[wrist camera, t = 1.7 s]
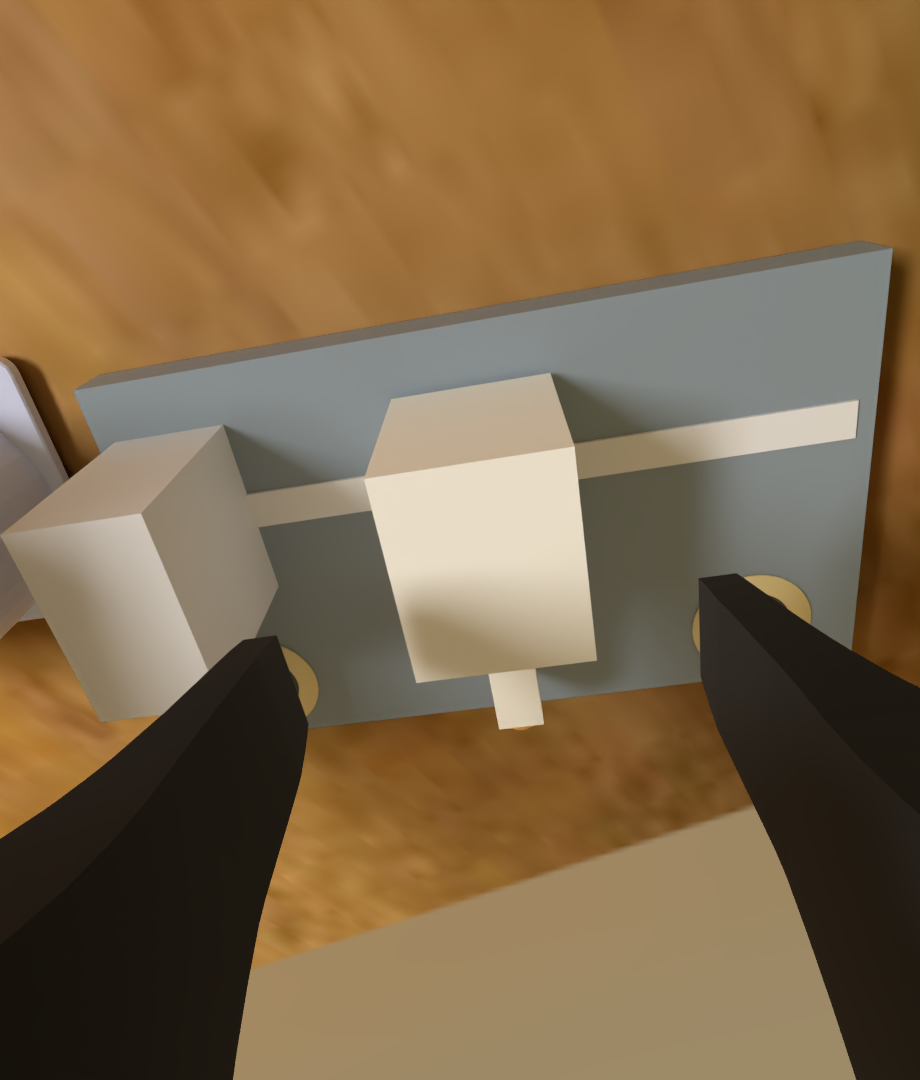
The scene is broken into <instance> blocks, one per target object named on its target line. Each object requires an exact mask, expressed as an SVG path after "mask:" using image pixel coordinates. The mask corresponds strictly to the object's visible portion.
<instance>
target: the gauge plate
mask: <svg viewBox="0 0 920 1080" xmlns="http://www.w3.org/2000/svg"><path fill="white" fill-rule="evenodd" d="M892 253H893V248H890V247H886V246H882V245H877V244H873V243H869V242H865V241H858V242H853V243H847V244H841V245H836V246H830V247H824V248H818V249H813V250H807V251H801V252H796V253H790V254H784V255H779V256H773V257H767V258H762V259H756V260H750V261H744V262H739V263H733V264H727V265H722V266H716V267H710V268H705V269H699V270H693V271H687V272H682V273H676V274H670V275H665V276H659V277H653V278H648V279H642V280H636V281H631V282H625V283H619V284H613V285H608V286H602V287H596V288H591V289H585V290H579V291H574V292H568V293H562V294H556V295H551V296H545V297H539V298H534V299H528V300H522V301H517V302H511V303H505V304H500V305H494V306H488V307H482V308H477V309H471V310H465V311H460V312H454V313H448V314H443V315H437V316H431V317H425V318H420V319H414V320H408V321H403V322H397V323H391V324H386V325H380V326H374V327H369V328H363V329H357V330H351V331H346V332H340V333H334V334H329V335H323V336H317V337H312V338H306V339H300V340H294V341H289V342H283V343H277V344H272V345H266V346H260V347H255V348H249V349H243V350H238V351H232V352H226V353H220V354H215V355H209V356H203V357H198V358H192V359H186V360H181V361H175V362H169V363H163V364H158V365H152V366H146V367H141V368H135V369H129V370H124V371H118V372H112V373H107V374H101V375H99V376H97V377H95V378H94V379H92V380H90V381H89V382H87V383H85V384H84V385H82V386H80V387H79V388H77V389H75V390H73V392H74V394H75V396H76V398H77V401H78V403H79V405H80V408H81V410H82V412H83V414H84V417H85V419H86V421H87V424H88V426H89V428H90V430H91V433H92V435H93V437H94V440H95V442H96V444H97V446H98V449H99V451H100V453H101V454H100V455H99V456H97V457H96V458H95V459H94V460H92V461H91V462H90V463H89V464H88V465H86V466H85V467H84V468H83V469H81V470H80V471H79V472H78V473H76V474H75V475H74V476H73V477H71V478H70V479H69V480H68V481H66V482H65V483H64V484H63V485H61V486H60V487H59V488H58V489H57V490H55V491H54V492H53V493H52V494H50V495H49V496H48V497H47V498H45V499H44V500H43V501H42V502H40V503H39V504H38V505H37V506H35V507H34V508H33V509H32V510H31V511H29V512H28V513H27V514H26V515H24V516H23V517H22V518H21V519H19V520H18V521H17V522H16V523H14V524H13V525H12V526H11V527H9V528H8V529H7V530H6V531H4V532H3V533H2V534H1V535H0V536H1V538H2V540H3V542H4V543H5V545H6V547H7V549H8V551H9V553H10V555H11V556H12V558H13V560H14V562H15V564H16V566H17V568H18V569H19V571H20V573H21V575H22V577H23V579H24V581H25V582H26V584H27V586H28V588H29V590H30V592H31V594H32V595H33V597H34V599H35V601H36V603H37V605H38V607H39V608H40V610H41V612H42V614H43V616H44V618H45V620H46V621H47V623H48V625H49V627H50V629H51V631H52V633H53V634H54V636H55V638H56V640H57V642H58V644H59V646H60V647H61V649H62V651H63V653H64V655H65V657H66V659H67V660H68V662H69V664H70V666H71V668H72V670H73V672H74V673H75V675H76V677H77V679H78V681H79V683H80V685H81V686H82V688H83V690H84V692H85V694H86V696H87V698H88V699H89V701H90V703H91V705H92V707H93V709H94V710H95V712H96V714H97V716H98V718H99V720H100V722H107V721H116V720H124V719H132V718H140V717H148V716H156V715H162V714H163V713H165V712H166V711H167V710H168V709H169V708H170V707H171V706H172V705H173V704H174V703H175V702H176V701H177V700H178V699H179V698H180V697H182V696H183V695H184V694H185V693H186V692H187V691H188V690H189V689H190V688H191V687H192V686H193V685H194V684H195V683H196V682H197V681H198V680H199V679H201V678H202V677H203V676H204V675H205V674H206V673H207V672H208V671H209V670H210V669H211V668H212V667H213V666H214V665H215V664H216V663H217V662H218V661H219V660H221V659H222V658H223V657H224V656H225V655H226V654H227V653H228V652H229V651H230V650H232V649H233V648H234V647H235V646H236V645H237V644H239V643H240V642H241V641H242V640H245V639H252V638H260V637H267V636H275V635H277V638H278V641H279V643H280V646H281V649H282V652H283V654H284V657H285V660H286V663H287V665H288V668H289V671H290V674H291V676H292V679H293V682H294V685H295V687H296V690H297V693H298V696H299V699H300V701H301V704H302V707H303V710H304V712H305V715H306V718H307V721H308V723H309V725H308V729H312V728H321V727H329V726H337V725H346V724H354V723H362V722H371V721H379V720H387V719H396V718H404V717H412V716H421V715H429V714H437V713H446V712H454V711H463V710H471V709H479V708H488V707H495V705H494V700H493V695H492V690H491V685H490V680H489V675H488V674H485V675H477V676H469V677H461V678H453V679H445V680H437V681H429V682H421V683H416V680H415V676H414V672H413V668H412V664H411V660H410V656H409V652H408V648H407V645H406V641H405V637H404V633H403V629H402V625H401V621H400V617H399V614H398V610H397V606H396V602H395V598H394V594H393V590H392V586H391V582H390V579H389V575H388V571H387V567H386V563H385V559H384V555H383V551H382V548H381V544H380V540H379V536H378V532H377V528H376V524H375V520H374V516H373V513H372V509H371V505H370V501H369V497H368V493H367V489H366V485H365V482H364V477H365V474H366V471H367V468H368V465H369V463H370V460H371V457H372V454H373V451H374V448H375V445H376V442H377V439H378V436H379V433H380V430H381V428H382V425H383V422H384V419H385V416H386V413H387V410H388V407H389V404H390V401H391V399H395V398H401V397H407V396H413V395H419V394H425V393H431V392H437V391H443V390H449V389H455V388H461V387H468V386H474V385H480V384H486V383H492V382H498V381H504V380H510V379H516V378H522V377H528V376H534V375H540V374H546V373H550V374H551V377H552V380H553V383H554V386H555V389H556V392H557V395H558V398H559V401H560V404H561V407H562V410H563V413H564V416H565V419H566V422H567V425H568V428H569V431H570V434H571V437H572V440H573V443H574V446H575V456H576V465H577V475H578V484H579V494H580V503H581V513H582V522H583V532H584V541H585V551H586V560H587V570H588V580H589V589H590V599H591V608H592V618H593V627H594V637H595V646H596V656H597V661H590V662H582V663H574V664H566V665H558V666H550V667H542V668H536V671H537V678H538V684H539V691H540V697H541V701H546V700H554V699H563V698H571V697H579V696H588V695H596V694H605V693H613V692H621V691H630V690H638V689H646V688H655V687H663V686H671V685H680V684H688V683H696V682H702V679H701V672H700V628H699V583H698V578H704V577H712V576H719V575H726V574H734V573H737V574H739V575H740V576H742V577H743V578H745V579H746V580H747V581H749V582H750V583H752V584H753V585H755V586H756V587H757V588H759V589H760V590H762V591H763V592H764V593H766V594H767V595H769V596H770V597H771V598H773V599H774V600H776V601H777V602H778V603H780V604H781V605H783V606H784V607H786V608H787V609H788V610H790V611H791V612H793V613H794V614H796V615H797V616H799V617H800V618H802V619H803V620H804V621H806V622H807V623H809V624H810V625H812V626H813V627H815V628H817V629H818V630H820V631H821V632H823V633H824V634H826V635H827V636H829V637H830V638H832V639H834V640H835V641H837V642H838V643H840V644H842V645H843V646H845V647H847V648H848V649H850V650H851V651H852V642H853V632H854V622H855V612H856V603H857V593H858V583H859V573H860V564H861V554H862V544H863V535H864V525H865V515H866V505H867V496H868V486H869V476H870V467H871V457H872V447H873V437H874V428H875V418H876V408H877V398H878V389H879V379H880V369H881V360H882V350H883V340H884V330H885V321H886V311H887V301H888V292H889V282H890V272H891V262H892Z"/></svg>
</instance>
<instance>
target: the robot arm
mask: <svg viewBox="0 0 920 1080" xmlns="http://www.w3.org/2000/svg"><path fill="white" fill-rule="evenodd" d="M68 480H69V477H68V475H67V473H66V471H65V469H64V466H63V464H62V462H61V460H60V458H59V456H58V454H57V451H56V449H55V447H54V445H53V443H52V441H51V439H50V436H49V434H48V432H47V430H46V428H45V426H44V424H43V421H42V419H41V417H40V415H39V413H38V411H37V409H36V406H35V404H34V402H33V400H32V398H31V396H30V394H29V392H28V389H27V387H26V385H25V383H24V381H23V379H22V377H21V374H20V372H19V370H18V369H17V368H16V366H15V365H14V364H13V363H12V362H11V361H9V360H8V359H6V358H4V357H1V356H0V535H1V534H2V533H3V532H4V531H6V530H7V529H8V528H9V527H11V526H12V525H13V524H14V523H16V522H17V521H18V520H19V519H21V518H22V517H23V516H24V515H26V514H27V513H28V512H29V511H31V510H32V509H33V508H34V507H35V506H37V505H38V504H39V503H40V502H42V501H43V500H44V499H45V498H47V497H48V496H49V495H50V494H52V493H53V492H54V491H55V490H57V489H58V488H59V487H60V486H61V485H63V484H64V483H65V482H66V481H68ZM698 583H699V628H700V672H701V679H702V682H703V685H704V689H705V692H706V695H707V698H708V701H709V704H710V707H711V710H712V713H713V716H714V719H715V722H716V725H717V728H718V731H719V733H720V735H721V737H722V739H723V741H724V744H725V746H726V748H727V750H728V752H729V754H730V756H731V758H732V761H733V763H734V765H735V767H736V769H737V771H738V773H739V775H740V777H741V779H742V782H743V784H744V786H745V788H746V790H747V792H748V794H749V796H750V798H751V800H752V802H753V804H754V807H755V809H756V811H757V813H758V815H759V817H760V819H761V821H762V823H763V825H764V827H765V829H766V832H767V834H768V836H769V838H770V840H771V842H772V844H773V846H774V848H775V850H776V853H777V855H778V857H779V860H780V862H781V865H782V867H783V869H784V872H785V874H786V876H787V879H788V881H789V884H790V887H791V890H792V893H793V896H794V898H795V901H796V904H797V906H798V909H799V912H800V915H801V918H802V920H803V923H804V926H805V929H806V932H807V934H808V937H809V940H810V943H811V946H812V949H813V951H814V954H815V957H816V960H817V963H818V966H819V969H820V972H821V974H822V977H823V981H824V983H825V986H826V989H827V992H828V995H829V998H830V1001H831V1003H832V1007H833V1010H834V1013H835V1016H836V1019H837V1022H838V1025H839V1028H840V1031H841V1034H842V1037H843V1040H844V1043H845V1046H846V1049H847V1053H848V1056H849V1059H850V1062H851V1064H852V1068H853V1071H854V1074H855V1077H856V1080H920V688H919V687H917V686H915V685H913V684H911V683H909V682H907V681H905V680H903V679H901V678H899V677H897V676H895V675H893V674H892V673H890V672H888V671H886V670H884V669H883V668H881V667H879V666H877V665H876V664H874V663H872V662H870V661H869V660H867V659H865V658H864V657H862V656H860V655H858V654H857V653H855V652H853V651H851V650H850V649H848V648H847V647H845V646H843V645H842V644H840V643H838V642H837V641H835V640H834V639H832V638H830V637H829V636H827V635H826V634H824V633H823V632H821V631H820V630H818V629H817V628H815V627H813V626H812V625H810V624H809V623H807V622H806V621H804V620H803V619H802V618H800V617H799V616H797V615H796V614H794V613H793V612H791V611H790V610H788V609H787V608H786V607H784V606H783V605H781V604H780V603H778V602H777V601H776V600H774V599H773V598H771V597H770V596H769V595H767V594H766V593H764V592H763V591H762V590H760V589H759V588H757V587H756V586H755V585H753V584H752V583H750V582H749V581H747V580H746V579H745V578H743V577H742V576H740V575H739V574H737V573H734V574H726V575H719V576H712V577H704V578H698ZM40 618H44V616H43V614H42V612H41V610H40V608H39V607H38V605H37V603H36V601H35V599H34V597H33V595H32V594H31V592H30V590H29V588H28V586H27V584H26V582H25V581H24V579H23V577H22V575H21V573H20V571H19V569H18V568H17V566H16V564H15V562H14V560H13V558H12V556H11V555H10V553H9V551H8V549H7V547H6V545H5V543H4V542H3V540H2V538H1V536H0V639H1V638H2V637H3V636H4V635H5V634H6V633H7V632H8V631H9V630H10V629H11V628H12V627H13V626H14V625H15V624H16V623H17V622H19V621H26V620H33V619H40ZM308 725H309V723H308V721H307V718H306V715H305V712H304V710H303V707H302V704H301V701H300V699H299V696H298V693H297V690H296V687H295V685H294V682H293V679H292V676H291V674H290V671H289V668H288V665H287V663H286V660H285V657H284V654H283V652H282V649H281V646H280V643H279V641H278V638H277V635H275V636H267V637H260V638H252V639H245V640H242V641H241V642H240V643H239V644H237V645H236V646H235V647H234V648H233V649H232V650H230V651H229V652H228V653H227V654H226V655H225V656H224V657H223V658H222V659H221V660H219V661H218V662H217V663H216V664H215V665H214V666H213V667H212V668H211V669H210V670H209V671H208V672H207V673H206V674H205V675H204V676H203V677H202V678H201V679H199V680H198V681H197V682H196V683H195V684H194V685H193V686H192V687H191V688H190V689H189V690H188V691H187V692H186V693H185V694H184V695H183V696H182V697H180V698H179V699H178V700H177V701H176V702H175V703H174V704H173V705H172V706H171V707H170V708H169V709H168V710H167V711H166V712H165V713H163V714H162V715H161V716H160V717H159V718H158V719H157V720H156V721H155V722H153V723H152V724H151V725H150V726H149V727H148V728H147V729H145V730H144V731H143V732H142V733H141V734H140V735H139V736H137V737H136V738H135V739H134V740H133V741H132V742H130V743H129V744H128V745H127V746H126V747H125V748H124V749H122V750H121V751H120V752H119V753H118V754H117V755H116V756H114V757H113V758H112V759H111V760H110V761H108V762H107V763H106V764H105V765H103V766H102V767H101V768H100V769H98V770H97V771H96V772H95V773H93V774H92V775H91V776H90V777H88V778H87V779H86V780H84V781H83V782H82V783H80V784H79V785H78V786H76V787H75V788H74V789H72V790H71V791H70V792H68V793H67V794H66V795H64V796H63V797H62V798H60V799H59V800H58V801H56V802H55V803H53V804H52V805H51V806H49V807H48V808H46V809H45V810H44V811H42V812H41V813H39V814H37V815H36V816H34V817H33V818H31V819H30V820H28V821H27V822H25V823H24V824H22V825H21V826H19V827H18V828H16V829H15V830H13V831H12V832H10V833H9V834H7V835H6V836H4V837H3V838H1V839H0V1080H233V1074H234V1067H235V1059H236V1053H237V1046H238V1040H239V1034H240V1028H241V1022H242V1016H243V1010H244V1003H245V997H246V991H247V985H248V979H249V974H250V969H251V964H252V958H253V953H254V948H255V942H256V937H257V932H258V927H259V922H260V918H261V914H262V910H263V906H264V902H265V898H266V895H267V891H268V888H269V885H270V881H271V878H272V875H273V871H274V868H275V865H276V861H277V858H278V854H279V851H280V848H281V844H282V841H283V838H284V834H285V831H286V828H287V824H288V821H289V817H290V814H291V810H292V807H293V803H294V800H295V796H296V793H297V789H298V786H299V782H300V778H301V773H302V767H303V761H304V755H305V748H306V740H307V733H308Z"/></svg>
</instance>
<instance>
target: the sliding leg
mask: <svg viewBox="0 0 920 1080" xmlns="http://www.w3.org/2000/svg"><path fill="white" fill-rule="evenodd" d="M364 482H365V485H366V489H367V493H368V497H369V501H370V505H371V509H372V513H373V516H374V520H375V524H376V528H377V532H378V536H379V540H380V544H381V548H382V551H383V555H384V559H385V563H386V567H387V571H388V575H389V579H390V582H391V586H392V590H393V594H394V598H395V602H396V606H397V610H398V614H399V617H400V621H401V625H402V629H403V633H404V637H405V641H406V645H407V648H408V652H409V656H410V660H411V664H412V668H413V672H414V676H415V680H416V683H421V682H429V681H437V680H445V679H453V678H461V677H469V676H477V675H485V674H488V675H489V680H490V685H491V690H492V695H493V700H494V705H495V710H496V715H497V720H498V726H499V729H508V728H513V729H515V730H526V729H529V728H530V727H532V726H534V725H542V724H544V720H543V712H542V703H541V697H540V691H539V684H538V678H537V671H536V668H542V667H550V666H558V665H566V664H574V663H582V662H590V661H597V656H596V646H595V637H594V627H593V618H592V608H591V599H590V589H589V580H588V570H587V560H586V551H585V541H584V532H583V522H582V513H581V503H580V494H579V484H578V475H577V465H576V456H575V446H574V443H573V440H572V437H571V434H570V431H569V428H568V425H567V422H566V419H565V416H564V413H563V410H562V407H561V404H560V401H559V398H558V395H557V392H556V389H555V386H554V383H553V380H552V377H551V374H550V373H546V374H540V375H534V376H528V377H522V378H516V379H510V380H504V381H498V382H492V383H486V384H480V385H474V386H468V387H461V388H455V389H449V390H443V391H437V392H431V393H425V394H419V395H413V396H407V397H401V398H395V399H391V401H390V404H389V407H388V410H387V413H386V416H385V419H384V422H383V425H382V428H381V430H380V433H379V436H378V439H377V442H376V445H375V448H374V451H373V454H372V457H371V460H370V463H369V465H368V468H367V471H366V474H365V477H364Z"/></svg>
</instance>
